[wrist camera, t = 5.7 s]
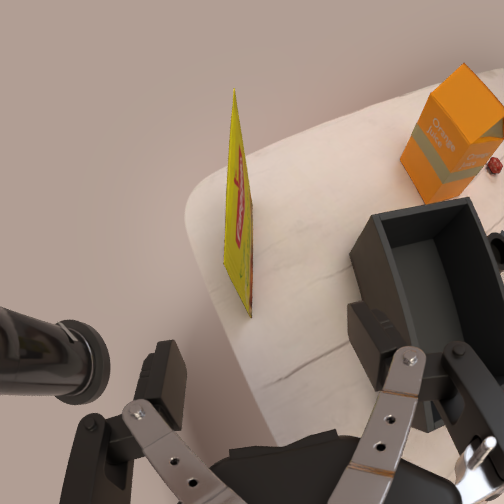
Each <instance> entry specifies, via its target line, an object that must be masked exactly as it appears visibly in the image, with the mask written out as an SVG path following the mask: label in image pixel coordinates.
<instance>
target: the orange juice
mask: <svg viewBox="0 0 504 504" xmlns="http://www.w3.org/2000/svg"><path fill="white" fill-rule="evenodd" d="M503 140H504V106H503V105H502V104H501V103H500V101H499V100H498V99H497V98H496V97H495V95H494V94H493V93H492V92H491V91H490V90H489V89H488V87H487V86H486V85H485V84H484V83H483V82H482V81H481V80H480V79H479V78H478V77H477V75H476V74H475V73H474V72H473V71H472V70H470V68H469V67H468V66H467V65H466V64H465V63H463V64H462V65H461V66H460V67H459V68H458V69H457V70H456V71H455V72H453V73H452V74H451V75H450V76H449V77H448V78H447V79H446V80H445V81H444V82H443V83H442V84H441V85H439V86H438V87H437V88H436V89H435V90H434V91H433V92H431V93H430V95H429V97H428V100H427V102H426V104H425V107H424V109H423V111H422V113H421V116H420V118H419V120H418V122H417V123H416V126H415V128H414V130H413V132H412V134H411V137H410V139H409V141H408V143H407V146H406V148H405V150H404V152H403V154H402V156H401V158H400V161H401V162H402V164H403V166H404V167H405V169H406V171H407V172H408V174H409V176H410V178H411V179H412V181H413V183H414V185H415V186H416V188H417V190H418V192H419V194H420V195H421V197H422V199H423V201H424V203H425V205H427V204H432V203H436V202H440V201H443V200H446V199H450V198H453V197H456V196H459V195H460V194H461V193H462V191H463V190H464V189H465V188H466V187H467V186H468V184H469V183H470V182H471V181H472V180H473V178H474V177H475V176H476V175H477V174H478V173H479V172H480V170H481V169H482V168H483V167H484V165H485V164H486V162H487V161H488V160H489V158H490V157H491V156H492V155H493V153H494V152H495V151H496V149H497V148H498V147H499V145H500V144H501V143H502V141H503Z"/></svg>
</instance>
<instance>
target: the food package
mask: <svg viewBox="0 0 504 504" xmlns="http://www.w3.org/2000/svg"><path fill="white" fill-rule="evenodd" d="M233 93H234V94H233V107H232V116H231V127H230V140H229V156H228V172H227V189H226V217H225V240H224V242H225V246H224V263H223V264H224V265H225V267H226V270H227V272H228V275H229V277H230V279H231V281H232V283H233V285H234V287H235V289H236V290H237V292H238V294H239V296H240V298H241V300H242V302H243V304H244V306H245V308H246V310H247V312H248V314H249V316H250V318H252V285H253V215H252V209H253V208H252V206H253V205H252V199H251V193H250V186H249V179H248V172H247V166H246V159H245V153H244V147H243V140H242V134H241V127H240V121H239V115H238V109H237V102H236V95H235V88H234V92H233Z"/></svg>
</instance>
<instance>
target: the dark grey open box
mask: <svg viewBox="0 0 504 504" xmlns="http://www.w3.org/2000/svg"><path fill="white" fill-rule="evenodd" d="M349 256H350V259H351V262H352V265H353V269H354V272H355V275H356V279H357V282H358V286H359V289H360V293H361V296H362V300H364V301H365V302H366V304H367V305H368V307H369V308H370V309H373V308H377V309H379V310H381V311H382V312H384V313H385V314H386V315H387V317H388V318H389V319H390V321H391V322H392V323H393V325H394V327H396V329H397V330H398V331H399V333H400V334H401V336H402V337H403V338H404V340H405V341H406V343H407V344H408V345H409V346H414V347H418V348H420V349H421V350H422V351H423V352H424V353H425V354H430V353H439V352H443V350H444V347H445V346H446V345H447V344H448V343H449V342H452V341H463V342H465V343H467V344H469V345H470V346H471V347H472V349H473V350H474V351H475V353H476V354H477V355H478V356H479V358H480V359H481V360H482V362H483V363H484V364H485V366H486V367H487V369H488V370H489V371H490V373H491V374H492V375H493V377H494V378H495V380H496V381H497V382H498V384H499V385H500V387H501V388H502V389H503V391H504V284H503V281H502V278H501V275H500V272H499V269H498V266H497V263H496V260H495V257H494V254H493V252H492V249H491V246H490V244H489V241H488V239H487V236H486V234H485V231H484V229H483V226H482V224H481V222H480V219H479V217H478V215H477V213H476V210H475V208H474V206H473V204H472V202H471V200H470V197H465V198H459V199H454V200H448V201H443V202H437V203H432V204H427V205H421V206H416V207H411V208H405V209H400V210H395V211H389V212H384V213H379V214H375V215H371V217H370V219H369V220H368V222H367V224H366V226H365V228H364V229H363V231H362V233H361V235H360V236H359V238H358V240H357V241H356V243H355V245H354V247H353V248H352V250H351V252H350V253H349ZM444 425H445V424H444V422H443V420H442V418H441V416H440V414H439V412H438V410H437V408H436V406H435V404H434V402H433V401H425V402H417V406H416V410H415V413H414V417H413V421H412V424H411V427H412V428H415V429H418V430H421V431H423V432H426V433H429V432H431V431H434V430H436V429H438V428H440V427H442V426H444Z"/></svg>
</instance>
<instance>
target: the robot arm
mask: <svg viewBox="0 0 504 504" xmlns="http://www.w3.org/2000/svg"><path fill="white" fill-rule="evenodd" d="M347 322H348V336H349V340H350V342H351V344H352V346H353V348H354V350H355V352H356V354H357V356H358V358H359V360H360V362H361V364H362V366H363V368H364V370H365V372H366V374H367V376H368V378H369V380H370V382H371V384H372V386H373V388H374V390H375V392H376V391H379V390H380V392H379V395H378V397H377V400H376V403H375V405H374V408H373V410H372V413H371V415H370V418H369V420H368V423H367V425H366V428H365V430H364V432H363V435H362V437H361V438H358V437H354V436H345V435H339V436H338V434H337V431H336V429H333V430H330V431H326V432H322V433H318V434H314V435H310V436H307V437H305V438H303V439H301V440H299V441H296V442H294V443H292V444H289V445H287V446H284V447H268V446H251V447H244V448H237V449H229V455H230V456H229V457H227V458H224V459H222V460H220V461H218V462H217V463H215V464H214V465H212V466H211V467H210V468H208V467H207V466H206V465H205V464H204V463H203V462H202V461H201V460H200V459H199V458H198V456H196V454H195V453H194V452H193V451H191V449H190V448H189V447H188V446H187V445H186V443H185V442H184V441H183V440H182V439H181V438H180V437H179V436H178V434H177V433H176V432H175V431H181V429H182V418H183V408H184V398H185V388H186V380H187V370H186V365H185V362H184V360H183V358H182V356H181V354H180V351H179V349H178V346H177V344H176V342H175V340H167V341H160V342H158V343H157V346H156V350H155V353H151V354H149V355H148V356H147V358H146V359H145V360H144V362H143V365H142V369H141V370H142V371H141V373H140V378H139V380H138V384H137V388H136V391H135V395H134V399H133V401H132V402H130V403H128V404H127V405H126V406H125V407H124V409H123V411H122V414H121V415H118V416H115V417H111V418H108V419H105V418H104V417H103V416H102V415H100V414H98V413H91V414H88V415H86V416H85V417H83V418H82V419H81V421H80V422H79V424H78V427H77V431H76V435H75V438H74V442H73V446H72V449H71V453H70V457H69V461H68V465H67V470H66V474H65V478H64V483H63V487H62V492H61V498H60V503H59V504H130V501H131V488H132V477H133V467H134V459H137V458H141V457H144V456H146V458H147V459H148V460H149V462H150V463H151V465H152V466H153V467H154V469H155V470H156V472H157V473H158V474H159V476H160V477H161V478H162V480H163V481H164V482H165V483H166V485H167V486H168V487H169V488H170V490H171V491H172V492H173V493H174V495H175V496H176V497H177V498H178V499H179V502H178V503H177V504H479V503H481V502H483V501H491V500H494V499H496V498H497V497H499V496H500V495H501V494H502V493H503V492H504V391H503V389H502V388H501V387H500V385H499V384H498V382H497V381H496V380H495V378H494V377H493V375H492V374H491V373H490V371H489V370H488V369H487V367H486V366H485V364H484V363H483V362H482V360H481V359H480V358H479V356H478V355H477V354H476V353H475V351H474V350H473V349H472V347H471V346H470V345H469V344H467V343H465V342H463V341H452V342H449V343H448V344H447V345H446V346H445V347H444V350H443V352H439V353H430V354H425V353H424V352H423V351H422V350H421V349H420V348H418V347H414V346H409V345H408V344H407V343H406V341H405V340H404V338H403V337H402V336H401V334H400V333H399V331H398V330H397V329H396V327H394V325H393V323H392V322H391V321H390V319H389V318H388V317H387V315H386V314H385V313H384V312H382V311H381V310H379V309H377V308H373V309H370V308H369V307H368V305H367V304H366V302H365V301H364V300H362V301H358V302H354V303H350V304H348V306H347ZM58 323H59V324H60V326H58V325H55V324H51V323H48V322H45V321H41V320H38V319H35V318H32V317H29V316H26V315H23V314H20V313H17V312H14V311H11V310H9V309H6V308H3V307H0V395H23V396H26V395H27V396H62V395H66V396H76V395H80V394H82V393H83V392H85V391H86V390H87V389H88V388H89V386H90V385H91V383H92V381H93V378H94V374H95V356H94V352H93V349H92V347H91V345H90V343H89V341H88V340H87V338H86V337H85V336H84V335H83V334H82V333H80V332H79V331H77V330H74V329H71V328H66V327H65V326H64V325H63V323H60V322H58ZM425 401H433V402H434V404H435V406H436V408H437V410H438V412H439V414H440V416H441V418H442V420H443V422H444V424H445V426H446V428H447V430H448V432H449V434H450V436H451V438H452V440H453V442H454V444H455V446H456V448H457V450H458V452H459V455H460V457H459V458H458V460H457V462H456V464H455V474H456V482H455V485H454V484H453V483H452V482H451V481H449V480H448V479H445V478H443V477H441V476H439V475H436V474H434V473H432V472H430V471H427V470H425V469H423V468H421V467H419V466H416V465H414V464H412V463H410V462H408V461H406V460H404V459H402V458H401V456H402V453H403V450H404V447H405V444H406V441H407V437H408V434H409V431H410V428H411V424H412V421H413V417H414V413H415V410H416V406H417V402H425Z"/></svg>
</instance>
